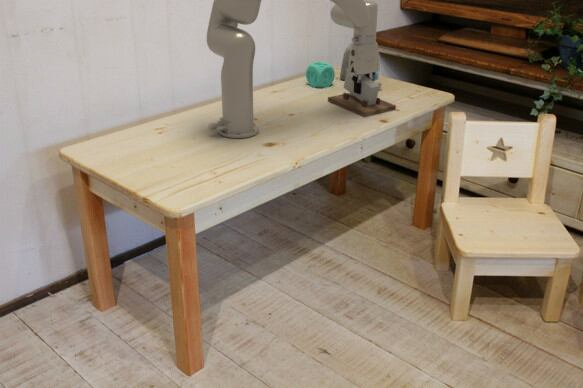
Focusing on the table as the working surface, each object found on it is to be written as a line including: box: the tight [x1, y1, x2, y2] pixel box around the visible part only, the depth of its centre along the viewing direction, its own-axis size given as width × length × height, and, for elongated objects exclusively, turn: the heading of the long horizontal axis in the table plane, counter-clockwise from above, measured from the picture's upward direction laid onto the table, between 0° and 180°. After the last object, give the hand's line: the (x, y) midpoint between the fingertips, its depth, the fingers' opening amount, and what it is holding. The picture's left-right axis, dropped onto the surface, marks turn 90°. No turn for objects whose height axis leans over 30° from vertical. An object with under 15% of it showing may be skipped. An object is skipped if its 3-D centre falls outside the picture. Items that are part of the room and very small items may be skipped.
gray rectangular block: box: [343, 69, 380, 106], centre depth 219 cm, size 4×14×7 cm, turn 33°
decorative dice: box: [305, 61, 336, 89], centre depth 242 cm, size 8×8×8 cm
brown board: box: [327, 92, 397, 118], centre depth 221 cm, size 14×20×4 cm
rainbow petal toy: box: [364, 72, 382, 90], centre depth 238 cm, size 8×10×7 cm
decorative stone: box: [339, 41, 353, 81], centre depth 249 cm, size 11×6×15 cm, turn 143°
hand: (361, 91), depth 220 cm, fingers closed on gray rectangular block, 3 cm apart
